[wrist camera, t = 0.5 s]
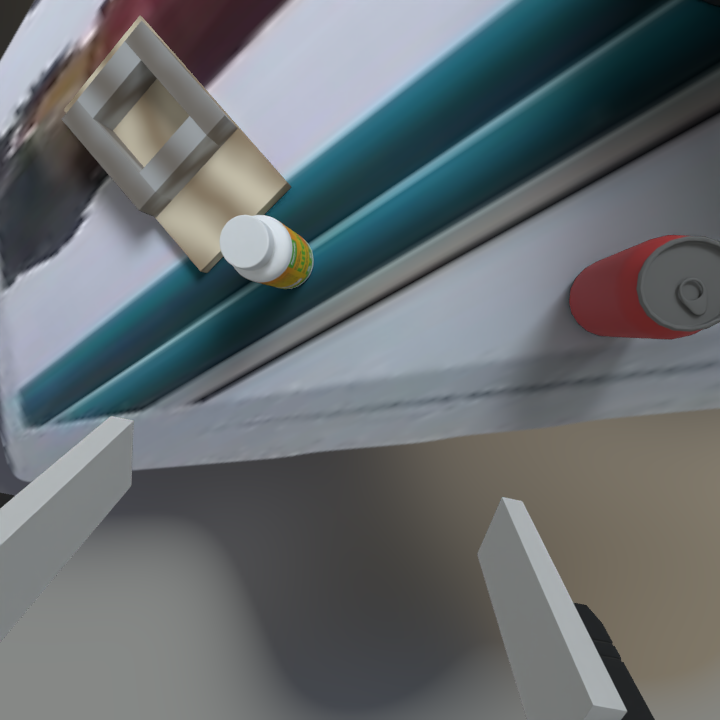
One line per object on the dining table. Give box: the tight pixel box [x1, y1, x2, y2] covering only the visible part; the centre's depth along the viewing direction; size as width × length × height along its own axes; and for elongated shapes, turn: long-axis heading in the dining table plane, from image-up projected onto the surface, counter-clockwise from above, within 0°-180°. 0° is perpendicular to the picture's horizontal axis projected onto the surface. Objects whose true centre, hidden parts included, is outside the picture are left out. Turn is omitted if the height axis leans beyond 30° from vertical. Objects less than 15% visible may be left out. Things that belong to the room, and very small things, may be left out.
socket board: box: [62, 16, 291, 273], centre depth 40 cm, size 12×22×4 cm, turn 42°
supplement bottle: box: [220, 215, 313, 289], centre depth 36 cm, size 5×5×10 cm
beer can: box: [569, 235, 720, 339], centre depth 30 cm, size 7×7×12 cm
